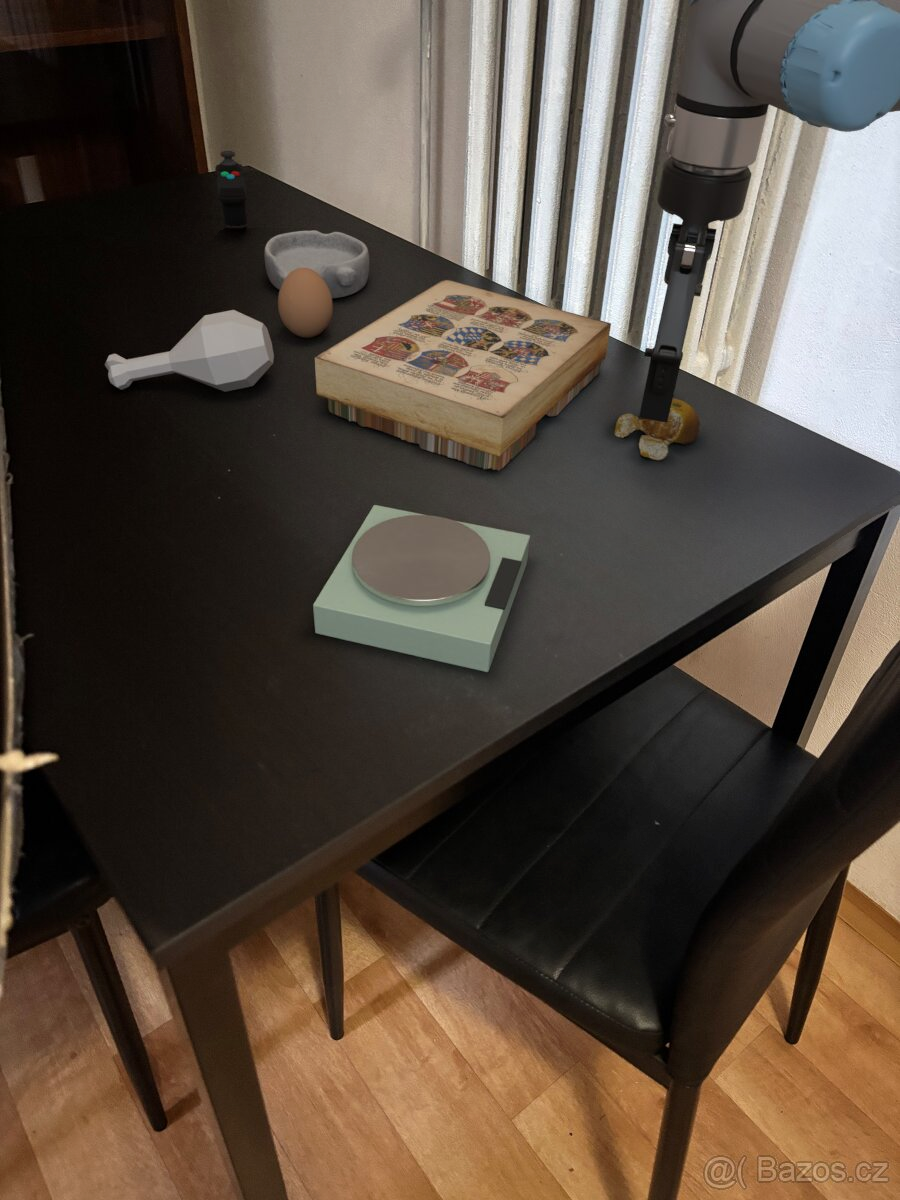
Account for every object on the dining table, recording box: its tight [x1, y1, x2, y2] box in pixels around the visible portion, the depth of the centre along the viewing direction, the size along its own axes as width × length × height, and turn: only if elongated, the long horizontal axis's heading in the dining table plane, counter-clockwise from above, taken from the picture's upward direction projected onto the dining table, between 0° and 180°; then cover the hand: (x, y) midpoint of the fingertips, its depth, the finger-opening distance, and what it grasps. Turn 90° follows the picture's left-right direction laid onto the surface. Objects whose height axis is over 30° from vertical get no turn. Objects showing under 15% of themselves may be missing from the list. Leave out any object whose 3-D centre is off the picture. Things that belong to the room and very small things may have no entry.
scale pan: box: [352, 514, 490, 606], centre depth 72 cm, size 11×11×1 cm
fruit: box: [613, 398, 701, 461], centre depth 94 cm, size 8×8×4 cm
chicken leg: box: [104, 309, 275, 393], centre depth 98 cm, size 8×18×8 cm, turn 95°
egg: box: [277, 268, 334, 339], centre depth 108 cm, size 6×6×8 cm
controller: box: [214, 150, 248, 231], centre depth 134 cm, size 4×12×10 cm, turn 12°
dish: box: [264, 230, 370, 299], centre depth 122 cm, size 14×14×5 cm
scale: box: [312, 504, 531, 673], centre depth 74 cm, size 14×14×3 cm
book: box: [314, 278, 612, 472], centre depth 101 cm, size 25×6×28 cm
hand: (660, 386), depth 92 cm, fingers open, 13 cm apart
